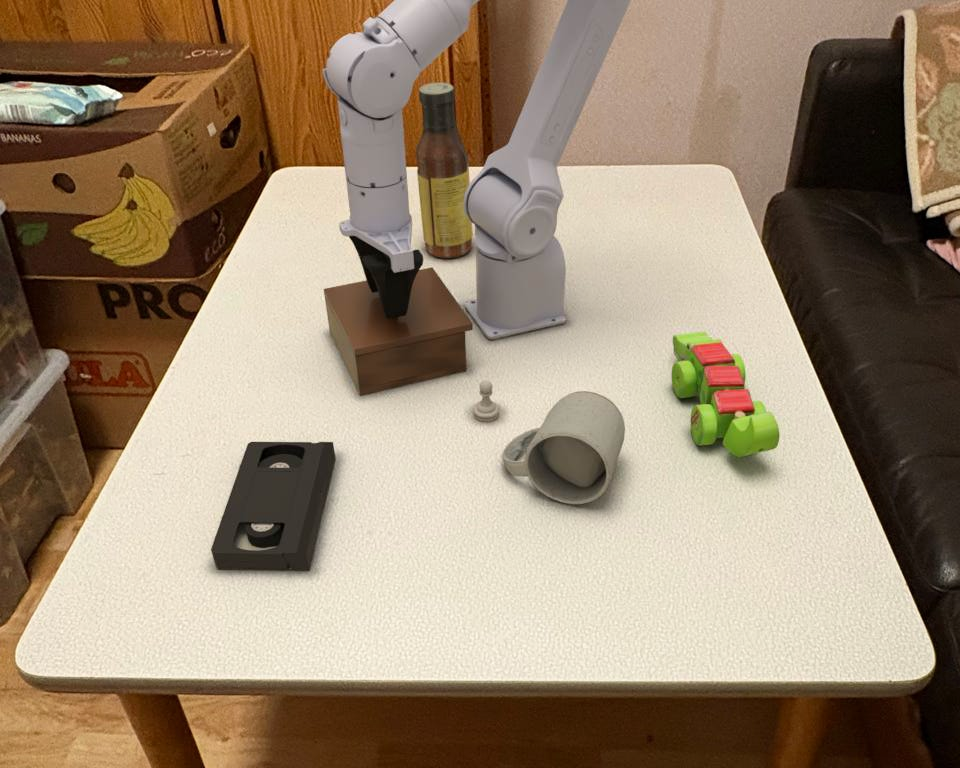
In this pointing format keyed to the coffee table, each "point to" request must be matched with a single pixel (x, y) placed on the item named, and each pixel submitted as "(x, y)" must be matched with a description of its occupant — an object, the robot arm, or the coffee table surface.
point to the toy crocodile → (720, 396)
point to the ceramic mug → (571, 448)
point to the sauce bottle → (442, 175)
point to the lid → (372, 330)
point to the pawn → (486, 404)
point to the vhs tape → (275, 507)
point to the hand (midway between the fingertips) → (388, 302)
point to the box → (400, 360)
